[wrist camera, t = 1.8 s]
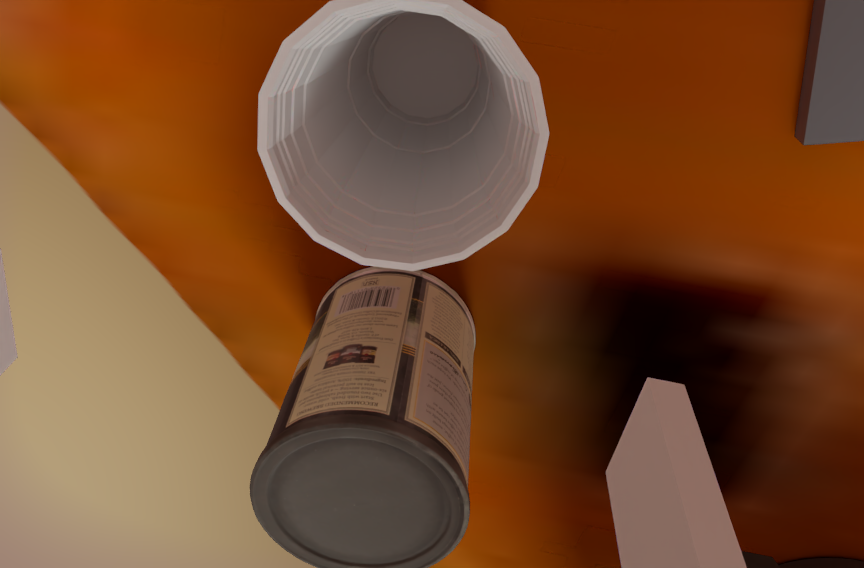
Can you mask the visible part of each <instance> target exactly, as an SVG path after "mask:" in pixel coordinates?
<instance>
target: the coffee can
mask: <svg viewBox="0 0 864 568" xmlns="http://www.w3.org/2000/svg"><path fill="white" fill-rule="evenodd" d="M475 343H476V335H475V327H474V322H473V319H472V316H471V314H470V312H469V310H468V308H467V306H466V304H465V303H464V302H463V300H462V299H461V298H460V297H459V295H458V294H457V293H456V292H455V291H454V290H453V289H451V288H450V287H449V286H448V285H447V284H445V283H444V282H443V281H441V280H439V279H438V278H436V277H435V276H433V275H431V274H428V273H426V272H424V271H421V270H417V271H407V270H399V269H391V268H383V267H375V266H374V267H369V268H365V269H362V270H359V271H356V272H354V273H352V274H349V275H348V276H346V277H344V278H342V279H341V280H339V281H338V282H337V283H336V284H335V285H334V286H333V287H332V288H331V289H330V290H329V291H328V292H327V293H326V295H325V296H324V298H323V299H322V301H321V303H320V305H319V307H318V310H317V314H316V318H315V322H314V324H313V327H312V329H311V332H310V334H309V337H308V340H307V342H306V345H305V347H304V350H303V353H302V355H301V358H300V360H299V363H298V366H297V368H296V371H295V373H294V376H293V379H292V381H291V384H290V386H289V389H288V391H287V394H286V396H285V399H284V402H283V404H282V406H281V410H280V412H279V415H278V417H277V420H276V423H275V425H274V428H273V430H272V433H271V436H270V438H269V441H268V443H267V446H266V447H265V449H264V450H263V451H262V453H261V455H260V456H259V458H258V461H257V462H256V465H255V467H254V469H253V473H252V475H251V481H250V497H251V502H252V506H253V510H254V512H255V515H256V517H257V519H258V521H259V522H260V524H261V525H262V527H263V528H264V530H265V531H266V532H267V533H268V535H269V536H270V537H271V538H272V539H273V540H274V541H275V542H276V543H278V544H279V545H280V546H281V547H282V548H284V549H285V550H286V551H287V552H289V553H291V554H292V555H294V556H295V557H297V558H298V559H300V560H302V561H304V562H306V563H308V564H310V565H313V566H315V567H317V568H428V567H430V566H432V565H434V564H436V563H437V562H439V561H440V560H442V559H443V558H445V557H446V556H447V555H448V554H449V553H450V552H452V551H453V550H454V548H455V547H456V546H457V545H458V544H459V542H460V540H461V539H462V537H463V535H464V533H465V531H466V528H467V526H468V521H469V514H470V501H469V493H468V470H469V447H470V423H471V399H472V379H473V354H474V349H475Z"/></svg>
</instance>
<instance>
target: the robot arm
mask: <svg viewBox="0 0 864 568" xmlns="http://www.w3.org/2000/svg"><path fill="white" fill-rule="evenodd" d="M16 358H17V351H16V344H15V338H14V331H13V325H12V318H11V312H10V305H9V300H8V293H7V286H6V280H5V274H4V267H3V260H2V254H1V249H0V375H1V374H2V373H3V372H4V371H5V370H6V369H7V368H8V367H9V366H10V365H11V364H12V362H13V361H14V360H15V359H16ZM606 478H607V484H608V490H609V496H610V502H611V508H612V514H613V520H614V526H615V532H616V538H617V544H618V550H619V556H620V562H621V568H864V562H863V561H858V560H852V559H844V558H815V559H805V560H799V561H793V562H788V563H784V564H781V565H778V564H777V563H776V561H775V560H774V559H773V558H772V557H769V556H764V555H759V554H754V553H749V552H743V551H741V549H740V546H739V543H738V540H737V538H736V535H735V532H734V529H733V526H732V523H731V520H730V517H729V514H728V511H727V508H726V505H725V502H724V499H723V497H722V494H721V491H720V488H719V485H718V482H717V479H716V476H715V473H714V470H713V467H712V464H711V461H710V458H709V456H708V453H707V450H706V447H705V444H704V441H703V438H702V435H701V432H700V429H699V426H698V423H697V420H696V417H695V415H694V412H693V409H692V406H691V403H690V400H689V397H688V394H687V391H686V388H685V385H684V384H679V383H673V382H668V381H663V380H658V379H653V378H648V377H647V380H646V382H645V384H644V386H643V389H642V391H641V393H640V395H639V398H638V400H637V402H636V404H635V407H634V409H633V411H632V413H631V416H630V418H629V420H628V422H627V425H626V427H625V429H624V431H623V434H622V436H621V438H620V441H619V443H618V445H617V447H616V450H615V452H614V454H613V456H612V459H611V461H610V463H609V465H608V468H607V470H606Z"/></svg>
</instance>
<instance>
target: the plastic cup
mask: <svg viewBox="0 0 864 568" xmlns="http://www.w3.org/2000/svg"><path fill="white" fill-rule="evenodd" d="M548 138H549V128H548V123H547V118H546V113H545V107H544V102H543V97H542V92H541V86H540V81H539V77H538V75H537V74H536V72H535V71H534V69H533V68H532V66H531V65H530V63H529V62H528V61H527V59H526V58H525V56H524V55H523V53H522V52H521V50H520V49H519V47H518V46H517V44H516V43H515V41H514V40H513V38H512V37H511V36H510V34H509V33H508V31H507V30H506V28H505V27H504V26H502V25H501V24H499V23H497V22H496V21H494V20H493V19H491V18H490V17H488V16H486V15H485V14H483V13H482V12H480V11H478V10H477V9H475V8H474V7H472V6H470V5H469V4H467V3H466V2H464V1H462V0H333V1H329V2H328V3H327V4H326V5H324V6H323V7H322V8H321V9H320V10H319V11H317V12H316V13H315V14H314V15H313V16H312V17H310V18H309V19H308V20H307V21H306V22H305V23H303V24H302V25H301V26H300V27H299V28H298V29H296V30H295V31H294V32H293V33H292V34H291V35H289V36H288V37H287V38H286V39H285V40H284V41H283V42H282V44H281V46H280V48H279V51H278V53H277V55H276V57H275V59H274V61H273V63H272V66H271V68H270V70H269V72H268V74H267V76H266V79H265V81H264V83H263V85H262V87H261V89H260V92H259V94H258V147H257V150H258V153H259V155H260V158H261V161H262V163H263V166H264V168H265V171H266V173H267V176H268V178H269V181H270V183H271V186H272V188H273V191H274V193H275V196H276V199H277V201H278V202H279V203H280V204H281V206H282V207H283V208H284V209H285V210H286V211H287V212H288V213H289V214H290V215H291V216H292V217H293V218H294V220H295V221H296V222H297V223H298V224H299V225H300V226H301V227H302V228H303V229H304V230H305V231H306V233H307V234H308V235H309V236H310V237H311V238H312V239H313V240H314V241H316V242H317V243H319V244H321V245H323V246H325V247H327V248H329V249H331V250H333V251H335V252H337V253H339V254H341V255H343V256H345V257H347V258H349V259H351V260H353V261H355V262H357V263H359V264H361V265H367V266H375V267H383V268H391V269H399V270H407V271H417V270H421V269H425V268H430V267H434V266H438V265H443V264H447V263H451V262H456V261H460V260H464V259H466V258H467V257H469V256H470V255H472V254H473V253H475V252H476V251H478V250H479V249H481V248H482V247H484V246H485V245H487V244H488V243H490V242H491V241H493V240H494V239H496V238H497V237H499V236H500V235H502V234H503V233H505V232H506V231H508V229H509V228H510V226H511V225H512V223H513V222H514V221H515V219H516V218H517V216H518V215H519V213H520V212H521V211H522V209H523V208H524V206H525V205H526V203H527V202H528V201H529V199H530V198H531V196H532V195H533V193H534V192H535V190H536V189H537V188H538V184H539V179H540V175H541V170H542V166H543V161H544V156H545V152H546V147H547V143H548Z"/></svg>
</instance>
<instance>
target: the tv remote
mask: <svg viewBox="0 0 864 568" xmlns="http://www.w3.org/2000/svg"><path fill="white" fill-rule="evenodd" d="M795 137H796V138H797V139H798V140H799V141H800V142H801V143H802V144H803V145H814V144H827V143H840V142H853V141H864V0H814V5H813V12H812V19H811V26H810V33H809V40H808V47H807V54H806V61H805V68H804V75H803V82H802V89H801V95H800V102H799V109H798V116H797V123H796V130H795Z"/></svg>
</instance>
